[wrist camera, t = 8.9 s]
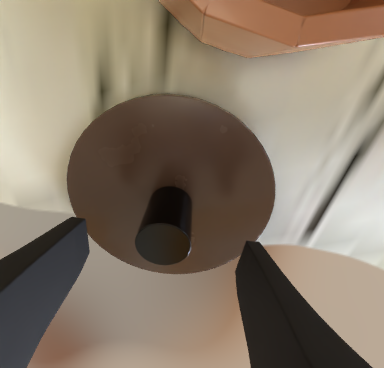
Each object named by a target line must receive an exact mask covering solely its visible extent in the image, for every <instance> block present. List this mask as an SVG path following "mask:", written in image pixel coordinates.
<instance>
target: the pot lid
mask: <svg viewBox="0 0 384 368" xmlns="http://www.w3.org/2000/svg"><path fill="white" fill-rule="evenodd" d="M67 187H68V194H69V198H70V202H71V205H72V208H73V210H74V213H75V215H76V217H77V218H84V219H86V226H87V233H88V235H90V237H91V238H92V239H93V240H94V241H95V242H96V243H97V244H98V245H99V246H101V247H102V248H103V249H105V250H106V251H107V252H108V253H110V254H111V255H113V256H115V257H116V258H118V259H120V260H121V261H124V262H126V263H128V264H130V265H133V266H135V267H138V268H141V269H145V270H148V271H153V272H158V273H167V274H188V273H196V272H202V271H206V270H210V269H213V268H216V267H219V266H221V265H223V264H226V263H228V262H230V261H231V260H233V259H235V258H236V257H238V256H239V255H241V254H242V251H243V248H244V245H245V243H246V240H247V241H256V240H257V239H258V238H259V237H260V235H261V234H262V232H263V231H264V229H265V227H266V225H267V223H268V221H269V219H270V216H271V213H272V210H273V206H274V200H275V180H274V173H273V169H272V166H271V163H270V160H269V158H268V156H267V154H266V152H265V150H264V148H263V146H262V145H261V143H260V142H259V141H258V139H257V138H256V136H255V135H254V134H253V133H252V132H251V131H250V130H249V129H248V127H247V126H246V125H245V124H244V123H243V122H241V121H240V120H239V119H238V118H236V117H235V116H234V115H232V114H231V113H230V112H228V111H226V110H224V109H222V108H221V107H219V106H217V105H215V104H212V103H210V102H207V101H204V100H202V99H198V98H194V97H190V96H185V95H176V94H155V95H148V96H143V97H138V98H134V99H131V100H129V101H126V102H123V103H120V104H118V105H116V106H115V107H113V108H111V109H109V110H107V111H105V112H104V113H103V114H101V115H100V116H99V117H98V118H96V119H95V120H94V121H93V122H92V123H91V124H90V125H89V126H88V127H87V128H86V129H85V130H84V131H83V133H82V134H81V136H80V137H79V139H78V140H77V142H76V144H75V146H74V149H73V151H72V153H71V156H70V160H69V164H68V172H67Z"/></svg>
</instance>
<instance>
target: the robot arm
mask: <svg viewBox="0 0 384 368" xmlns="http://www.w3.org/2000/svg"><path fill="white" fill-rule="evenodd" d="M88 255H89V244H88V235H87V226H86V219H84V218H77V217H71V218H69V219H67V220H66V221H64V222H62V223H61V224H59V225H57V226H56V227H54V228H53V229H51V230H49V231H48V232H46V233H45V234H43V235H42V236H40V237H38V238H36V239H35V240H34V241H32V242H30V243H28V244H27V245H25V246H23V247H22V248H20V249H18V250H17V251H15V252H13V253H11V254H9V255H8V256H6V257H4V258H2V259H1V260H0V368H27V366H28V364H29V362H30V360H31V358H32V356H33V354H34V352H35V349H36V348H37V346H38V344H39V342H40V340H41V338H42V336H43V334H44V333H45V331H46V329H47V327H48V326H49V324H50V322H51V321H52V319H53V318H54V316H55V314H56V313H57V311H58V309H59V308H60V306H61V304H62V303H63V301H64V299H65V298H66V296H67V295H68V293H69V291H70V289H71V288H72V286H73V284H74V283H75V281H76V280H77V278H78V276H79V274H80V272H81V270H82V268H83V266H84V263H85V262H86V259H87V257H88ZM235 273H236V287H237V296H238V300H239V306H240V311H241V316H242V321H243V326H244V331H245V336H246V341H247V346H248V351H249V358H250V364H251V368H372V367H371V366H370V365H369V364H368V363H367V362H366V361H365V360H364V359H363V358H362V357H360V356H359V355H358V354H357V353H356V352H355V351H354V350H353V349H352V348H351V347H350V346H349V345H348V344H347V343H345V341H344V340H343V339H341V337H339V336H338V335H337V333H336V332H335V331H334V330H333V329H332V328H331V327H330V326H329V325H328V324H327V323H326V322H325V321H324V320H323V319H322V318H321V317H320V316H319V315H318V314H317V313H316V311H315V310H314V309H313V308H312V307H311V306H310V305H309V304H308V303H307V301H306V300H305V299H304V298H303V297H302V296H301V294H300V293H299V292H298V291H297V290H296V289H295V287H294V286H293V285H292V284H291V282H290V281H289V280H288V279H287V277H286V276H285V275H284V274H283V272H282V271H281V270H280V269H279V267H278V266H277V265H276V263H275V262H274V261H273V259H272V258H271V257H270V255H269V254H268V253H267V251H266V250H265V249H264V247H263V246H262V245H261V243H260V242H255V241H247V240H246V243H245V245H244V248H243V251H242V254H241V257H240V260H239V262H238V265H237V268H236V271H235Z"/></svg>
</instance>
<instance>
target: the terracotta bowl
mask: <svg viewBox="0 0 384 368" xmlns="http://www.w3.org/2000/svg"><path fill="white" fill-rule="evenodd" d="M159 2H160V3H161V4H162V5H163V6H164V7H165V8H166V9H167V10H168V11H169V12H170V13H171V14H172V15H173V16H174V17H175V18H176V19H177V20H178V21H179V22H180V23H181V24H182V25H183V26H184V27H185V28H186V29H187V30H189V31H190V32H191V33H192V34H193V35H194V36H195V37H196V38H197V39H198V40H199V41H201V42H202V43H205V44H208V45H211V46H214V47H216V48H218V49H221V50H223V51H226V52H230V53H234V54H237V55H240V56H243V57H246V58H253V57H261V56H269V55H276V54H284V53H292V52H299V51H305V50H311V49H317V48H323V47H328V46H334V45H340V44H346V43H352V42H358V41H364V40H370V39H376V38H381V37H384V0H159Z"/></svg>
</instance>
